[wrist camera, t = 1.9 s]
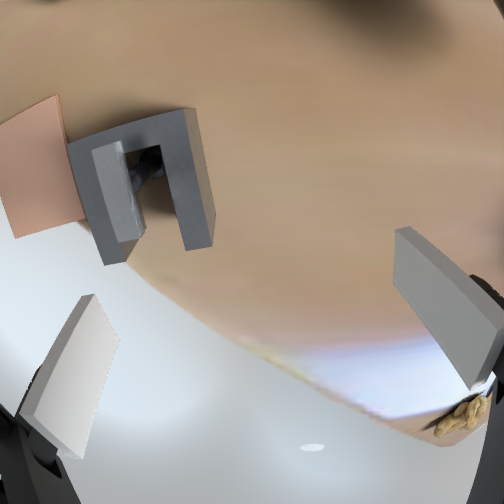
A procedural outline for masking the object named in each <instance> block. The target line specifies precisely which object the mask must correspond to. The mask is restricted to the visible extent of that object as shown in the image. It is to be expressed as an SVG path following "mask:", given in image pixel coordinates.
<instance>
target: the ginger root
mask: <svg viewBox="0 0 504 504" xmlns="http://www.w3.org/2000/svg"><path fill="white" fill-rule="evenodd" d="M491 397H492V394H490V396H489V397H486V396H481V395H480V394H479V395H478V396H476V397H475V399H474V400H472V401H471V402H463V403H461V404H460V405H459V406H458V407H457V408H456V410H455V411H454V412H453V413H451V414H450V415H448V416H447V417H445V418H444V419H442V420H441V421H440V423H439V424H438V425H437V427H436V428H435V430H434V435H435V437H438V438H440V437H442V436H443V435H444V434H445V433H446V432H447V433H450V432H455V431H456V430H461V429H466V430H470V429H473V428H474V426H475V425H476V423H477V418H480V417H482V416H483V415H484V414H485V412H486V406H487V402H488V401H489V399H490V398H491Z"/></svg>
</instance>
